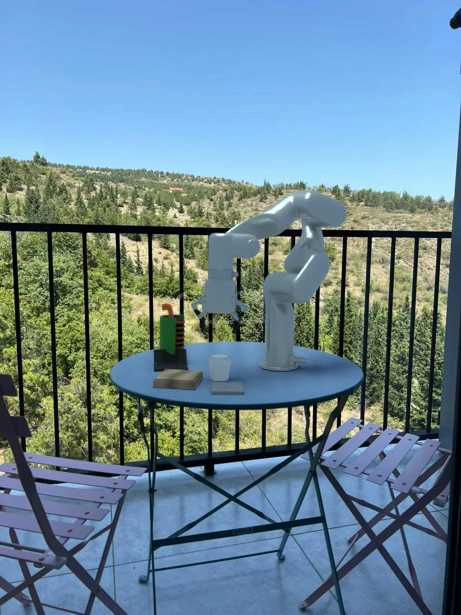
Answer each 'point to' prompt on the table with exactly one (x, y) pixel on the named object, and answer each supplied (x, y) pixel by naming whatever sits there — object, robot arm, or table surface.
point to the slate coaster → (227, 388)
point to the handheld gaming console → (170, 360)
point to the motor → (171, 330)
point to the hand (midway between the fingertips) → (218, 332)
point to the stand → (178, 379)
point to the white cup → (219, 367)
